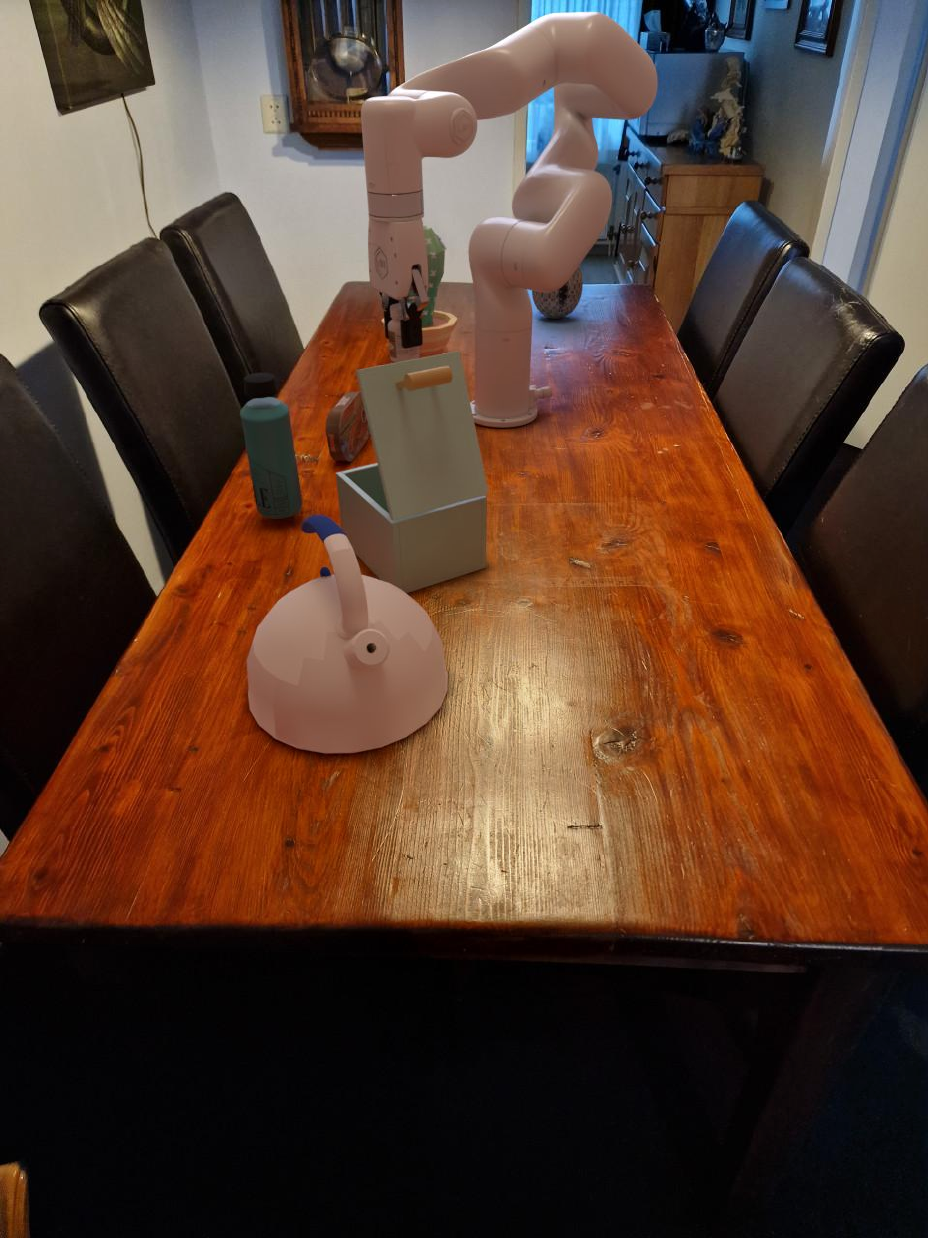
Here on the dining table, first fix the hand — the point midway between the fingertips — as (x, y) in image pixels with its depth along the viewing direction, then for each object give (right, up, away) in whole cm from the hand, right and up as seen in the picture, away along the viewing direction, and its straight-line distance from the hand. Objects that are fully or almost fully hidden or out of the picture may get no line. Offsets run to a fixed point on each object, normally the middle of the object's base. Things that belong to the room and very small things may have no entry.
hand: (403, 340), depth 120 cm
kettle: (-3, -48, -37) cm, 61 cm away
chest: (+2, -33, -15) cm, 36 cm away
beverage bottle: (-16, -27, -7) cm, 33 cm away
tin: (-9, -14, +11) cm, 20 cm away
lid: (+4, -20, -29) cm, 35 cm away
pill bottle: (0, -2, +2) cm, 3 cm away
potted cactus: (0, +13, +49) cm, 51 cm away
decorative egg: (+31, +30, +74) cm, 86 cm away
